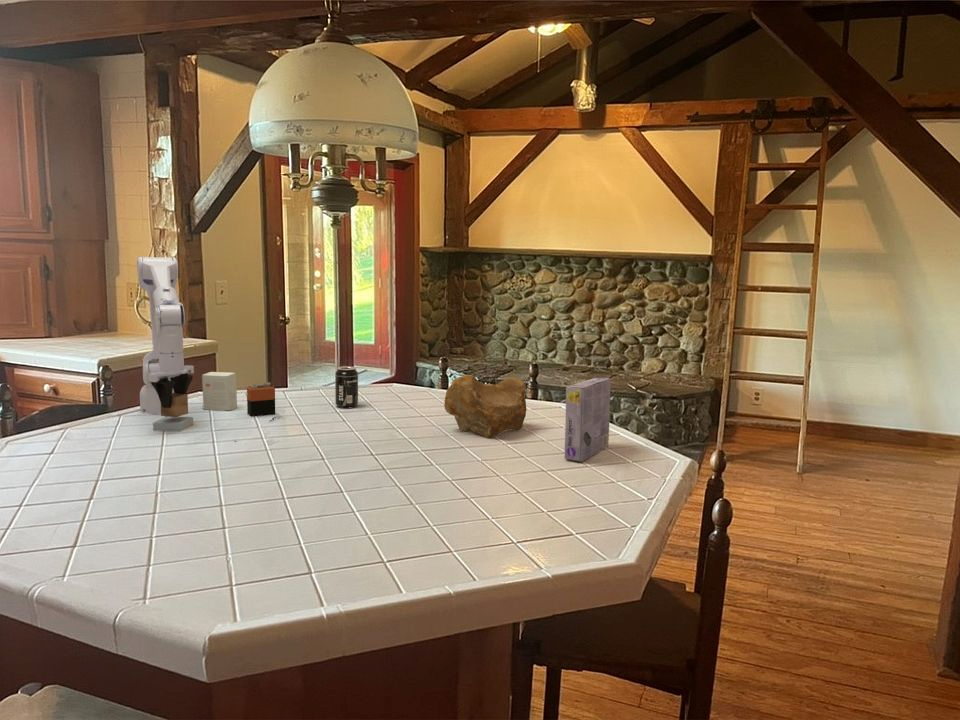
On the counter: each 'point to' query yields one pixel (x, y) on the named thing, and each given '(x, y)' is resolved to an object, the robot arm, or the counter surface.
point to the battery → (261, 400)
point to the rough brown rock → (487, 405)
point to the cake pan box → (587, 418)
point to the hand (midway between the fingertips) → (173, 405)
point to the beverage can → (346, 387)
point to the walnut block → (176, 406)
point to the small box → (219, 390)
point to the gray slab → (173, 423)
